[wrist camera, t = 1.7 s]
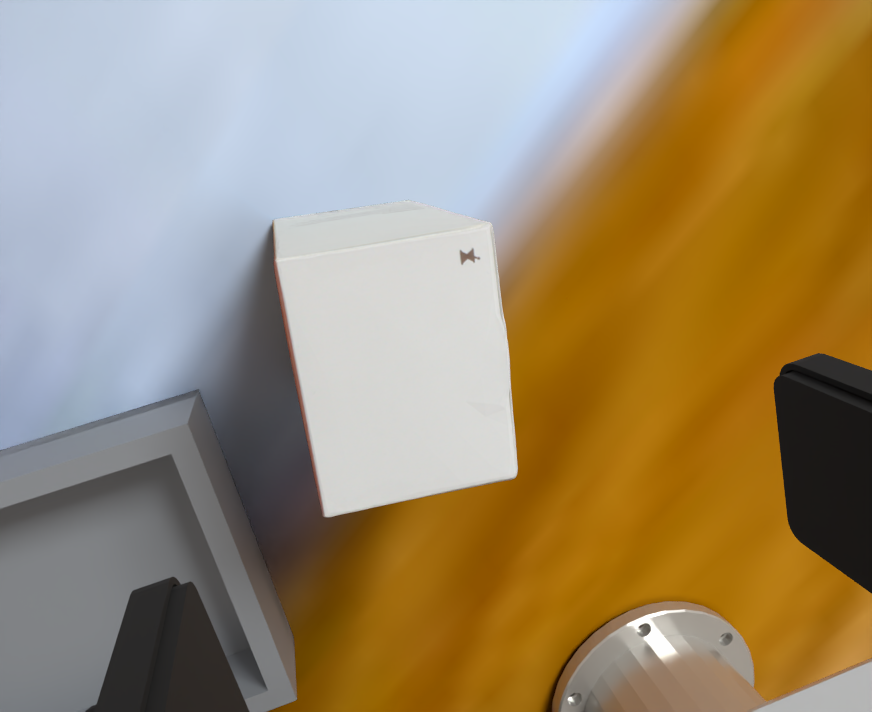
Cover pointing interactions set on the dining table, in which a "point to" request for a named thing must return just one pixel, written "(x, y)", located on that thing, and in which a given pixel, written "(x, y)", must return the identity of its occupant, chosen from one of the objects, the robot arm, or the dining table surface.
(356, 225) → the small box
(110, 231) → the dining table surface
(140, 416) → the tray
